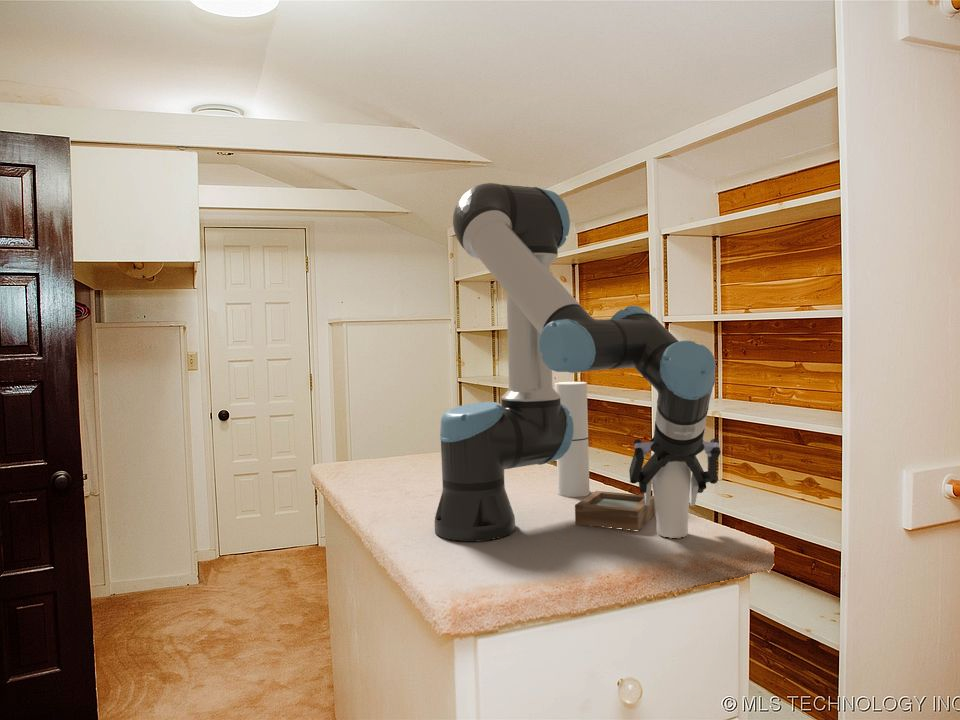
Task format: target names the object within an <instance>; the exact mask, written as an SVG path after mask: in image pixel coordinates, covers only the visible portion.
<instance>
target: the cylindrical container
mask: <svg viewBox="0 0 960 720" xmlns="http://www.w3.org/2000/svg"><path fill="white" fill-rule="evenodd" d="M554 390H555V391H556V392H557V393H558V394H559V395H560V402H561V404H562V405H564V406H565V407H566V408H567V409H568V410H569V412H570V413H569V416H572V420H573V425H574V433H573V439H572V443H571V445H570V447H569V449H568V451H567V452H566V453H565V454H564V455H563V457H561V458H560V459H558V460H556V478H557V479H556V481H557V483H556V484H557V494H558V495H559V496H562V497H565V498H566V497H567V498H582V497H587V496H589V495H590V494H591V493H590V462H589V461H590V460H589V459H590V458H589V455H590V454H589V452H590V451H589V423H588V422H589V420H588V419H589V416H588V382H586V381H559V382H554Z"/></svg>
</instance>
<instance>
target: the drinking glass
mask: <svg viewBox="0 0 960 720" xmlns="http://www.w3.org/2000/svg"><path fill="white" fill-rule="evenodd" d="M650 451H651V452H650V458H651V457H652V455H653V454H654V452H653V451H652V450H650ZM691 477H692V471H691V470H690V468H689V467H688V466H687V464H686V462H678V461H673V462H668V463H667V464H666V465H665V467H661V469H660V470H659V471H658V472H657V473H656V475H655V476H654V477H653V478H652V479H651V485H652V491H653V493H652V494H653V496H654V503H655V519H656V520H655V521H656V522H655V523H656V526H655V528H656V533H657V535H658V536H660V535H661V536H660V537H662V536H663V538H665V537H669V538H668V539H672V538H677V539H682V538H681V537H683V538H685V537H687V536H688V533H689V509H690V500H689V496H690V483H691Z"/></svg>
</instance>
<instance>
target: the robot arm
mask: <svg viewBox="0 0 960 720" xmlns="http://www.w3.org/2000/svg"><path fill="white" fill-rule="evenodd" d="M570 221H571V220H570V213H569V210H568V206H567V205H566V203H565V201H564V199H562V197H560V196H559V194H558V193H556V192H554V191H553V190H548V189H543V188H541V187H537V186H533V187H531V186H521V185H510V184H499V183H495V182H493V183H492V182H488V183H487V182H486V183H481V184H477V185H475V186H473V187H471V188H470V189H468V190H467V191H465V193H464V194H463V195H462V196H460V198H459V200H458V201H457V203H456V205H455V208H454V212H453V216H452V225H453V227H452V228H453V231H454V234H455V237H456V239H457V241H458V243H459V244H460V246H461V247H462V248H463V249H464V251H465V252H466V253H467V254H468V255H469V256H470V257H472V258H475V259H479V260H480V261H481V263H482V264H483V265H484V267H486V269H487V270H488V271H489V272H490V274H491V275H492V276H493V277H494V279H495V280H496V281H497V282H498V283H499V285H500V286H501V288H502V289H504V291H505V292H506V313H507V314H506V315H507V316H506V317H507V318H506V319H507V321H506V322H507V323H506V324H507V357H508V358H507V359H508V360H507V362H508V363H507V364H508V388H507V391H506V392H505V393H504V394H503V395H502V396H501V403H499V402H497V401H496V402H495V401H482V402H477V403H476V402H475V403H473V402H472V403H467V404H463V405H459V406H455V407H453V408H450V409H449V410H446V411H445V412H444V413H443V414H442V415H441V419H440V433H439V439H440V451H441V453H440V454H441V456H440V457H441V475H442V476H441V477H442V480H441V481H442V490H441V496H440V499H439V503H438V506H437V509H436V512H435V513H436V514H435V516H434V520H433V521H434V533H435V534H436V535H437V536H438V537H441V538H443V539H446V538H447V539H446V540H450V539H452V540H451V541H456V540H460V541H459V542H478V541H477V540H485V541H489V540H488V539H492V540H494V539H493V538H497V539H499V538H498V537H501V538H504V537H506V536H505V535H507V536H509V535H511V534H512V533H514V532H515V529H516V516H515V514H514V511H513V508H512V505H511V502H510V499H509V496H508V494H507V491H506V488H505V485H506V484H505V470H509V469H515V468H516V469H517V468H521V467H528V466H533V465H545V464H547V463H550V462H554V461H557V460H558V459H560V458H561V457H563V455H564V454H565V453H566V452H567V451H568V449H569V447H570V445H571V443H572V439H573V433H574V425H573V420H572V416H569V413H570V412H569V410H568V409H567V408H566V407H565V406H564V405H562V404H561V402H560V395H559V394H558V393H557V392H556V391H555V388H553V371H554V372H556V373H572V374H573V373H574V374H575V373H582V372H588V371H589V372H591V371H601V370H615V369H617V370H618V369H631V368H633V369H635V370H636V371H637V372H638V373H639V374H640V375H641V376H642V377H643V378H644V379H645V380H646V381H647V382H648V383H649V384H650V385H652V387H653V388H654V389H655V390H656V392H657V400H656V413H655V421H654V433H653V437H652V438H651V439H650V441H647V442H642V440H641V439H637V438H636V439H635V440H633V444H634V445H633V446H634V447H633V448H634V452H633V456H632V459H631V462H630V463H631V464H630V466H629V469H628V471H629V483H630V484H637V483H638V488H639V493H641V494H642V493H643V495H644V496H645V506H650V497H651V496H652V488H653V485H652V478H653V477H654V476H655V475H656V473H657V472H658V471H659V470H660V469H661V467H665V465H666V464H667V463H668V462H673V461H678V462H686V464H687V466H688V467H689V468H690V470H691V483H690V496H689V507H695V506H696V501H697V496H698V494H702V493H703V492H704V490H706V489H707V483H710V484H717V483H718V458H719V457H720V455H721V453H722V452H721V447H720V442H719V439H718V438H712V439H710V441H704V434H705V430H706V429H705V428H706V424H707V417H708V411H709V407H710V406H709V405H710V401H711V397H712V392H713V389H714V386H715V383H716V358H715V356H714V354H713V352H712V351H711V350H710V349H709V348H708V347H707V346H705V345H704V344H699V343H697V342H695V341H693V340H680V341H679V340H678V339H677V338H676V337H675V336H674V335H673V334H672V333H671V332H670V331H669V330H668V329H667V328H666V327H665V326H664V325H663V324H661V322H660V321H659V320H658V319H657V318H656V317H655V316H653V315H652V314H651V313H649V312H648V311H647V310H645V309H644V308H642V307H641V306H639V305H629V306H626V308H624V309H619V310H618V311H617V312H615V313H614V314H613V315H612V317H611V318H609V319H608V318H607V319H606V318H605V319H601V318H600V319H596V318H593V317H592V316H591V315H590V314H589V312H588V311H586V309H585V308H583V306H582V305H581V304H580V303H579V302H578V300H576V298H575V297H574V296H573V295H572V294H571V293H570V292H569V291H568V290H567V289H566V287H565V286H563V284H562V283H561V282H560V281H559V279H557V278H556V277H555V276H554V274H553V273H552V271H551V265H552V264H553V263H554V261H555V260H556V259H557V258H558V249H560V248H561V247H562V246H564V244H565V243H566V242H567V237H568V236H569V233H570V229H571V225H570V224H571V222H570ZM649 451H653V452H654V454H653V455H652V457H651V456H650V458H649V459H648V460H647V462H646V463H645V464H644V461H645V457H646V458H647V454H648V453H649ZM703 451H704V452H705V454H707V458H706V459H707V470H706V471H704V468H703V466H702V465H701V463H700V461H699V460H698V459H699V458H697V455H699V454H701V452H703ZM510 533H511V534H510ZM508 534H509V535H508ZM503 536H504V537H503Z"/></svg>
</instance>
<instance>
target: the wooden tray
mask: <svg viewBox="0 0 960 720" xmlns="http://www.w3.org/2000/svg"><path fill="white" fill-rule="evenodd" d="M574 513H575V515H574V516H575V517H574V519H575V520H574V521H575V525H578V524H580V525H581V526H586V525H592V526H591V527H594V526H604V527H612V528H622V529H630V530H639V529H640V528H641V527H642V526H643V525H644V524H645V523H646V522H647V521H648V520H649V519H650V520H651V519H652V518H653V517H654V516H656V513H655V503H654V495H651V497H650V506H645V496H644V494H634V493H624V492H623V493H622V492H613V491H612V492H611V491H602V490H601V491H600V490H595V491H594V492H592V493H589V495H587V496H585V498H583V499H582V500H580V501H579V502H577V503H576V504H574ZM650 520H649V521H650ZM649 521H648V522H649ZM648 522H647V523H648ZM647 523H646V524H647ZM646 524H645V525H646ZM580 525H579V526H580ZM645 525H644V526H645ZM644 526H643V527H644ZM643 527H642V528H643ZM642 528H641V529H642ZM641 529H640V530H641ZM640 530H639V531H640Z"/></svg>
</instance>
